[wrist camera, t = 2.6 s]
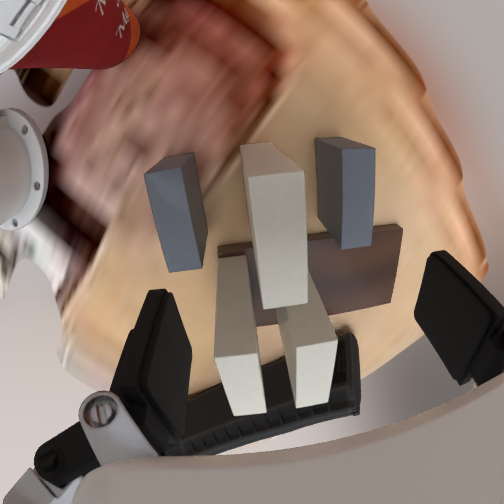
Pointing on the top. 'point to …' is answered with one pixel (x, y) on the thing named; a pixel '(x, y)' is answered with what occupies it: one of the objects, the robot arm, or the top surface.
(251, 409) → the white book
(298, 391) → the white book
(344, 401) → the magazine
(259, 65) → the top surface
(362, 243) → the grey book
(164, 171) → the grey book
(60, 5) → the paper cup
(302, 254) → the white book
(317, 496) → the robot arm
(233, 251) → the shelf board
